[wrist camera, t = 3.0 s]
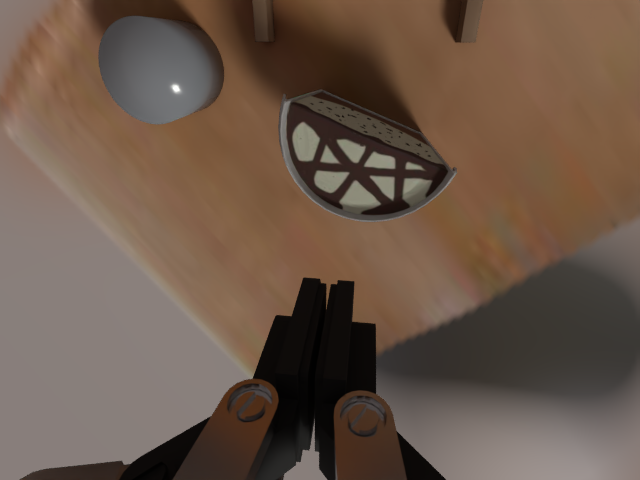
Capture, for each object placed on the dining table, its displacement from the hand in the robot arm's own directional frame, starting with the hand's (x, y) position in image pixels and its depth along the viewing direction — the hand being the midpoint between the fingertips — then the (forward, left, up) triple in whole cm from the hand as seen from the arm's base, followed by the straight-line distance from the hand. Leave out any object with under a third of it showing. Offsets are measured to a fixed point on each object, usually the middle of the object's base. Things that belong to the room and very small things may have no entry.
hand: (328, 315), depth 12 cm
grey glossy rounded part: (+15, -6, -23) cm, 28 cm away
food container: (0, 0, -23) cm, 23 cm away
